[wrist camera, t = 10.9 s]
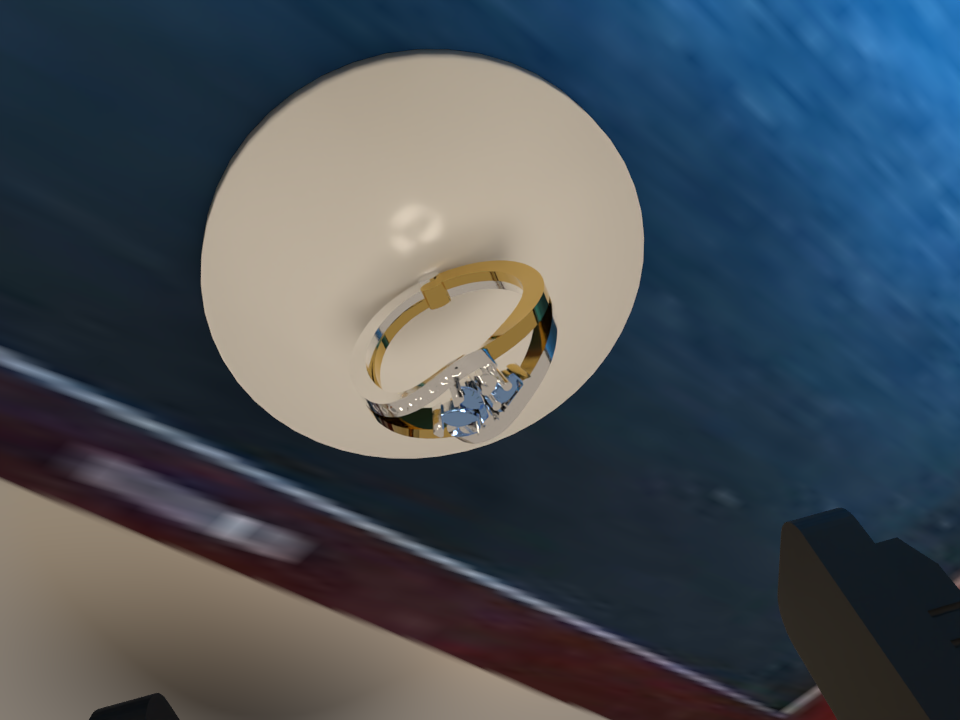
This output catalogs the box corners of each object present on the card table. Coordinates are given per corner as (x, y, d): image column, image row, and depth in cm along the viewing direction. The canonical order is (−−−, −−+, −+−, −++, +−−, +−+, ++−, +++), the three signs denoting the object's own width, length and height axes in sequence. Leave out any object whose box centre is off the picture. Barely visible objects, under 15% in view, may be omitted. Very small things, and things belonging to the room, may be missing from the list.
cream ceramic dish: (622, 4, 29) (635, 12, 28) (640, 388, 38) (650, 404, 37) (132, 105, 27) (127, 118, 26) (274, 479, 37) (274, 499, 36)
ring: (506, 206, 31) (575, 325, 24) (534, 279, 32) (605, 407, 26) (323, 287, 31) (343, 426, 24) (362, 354, 33) (389, 500, 26)
